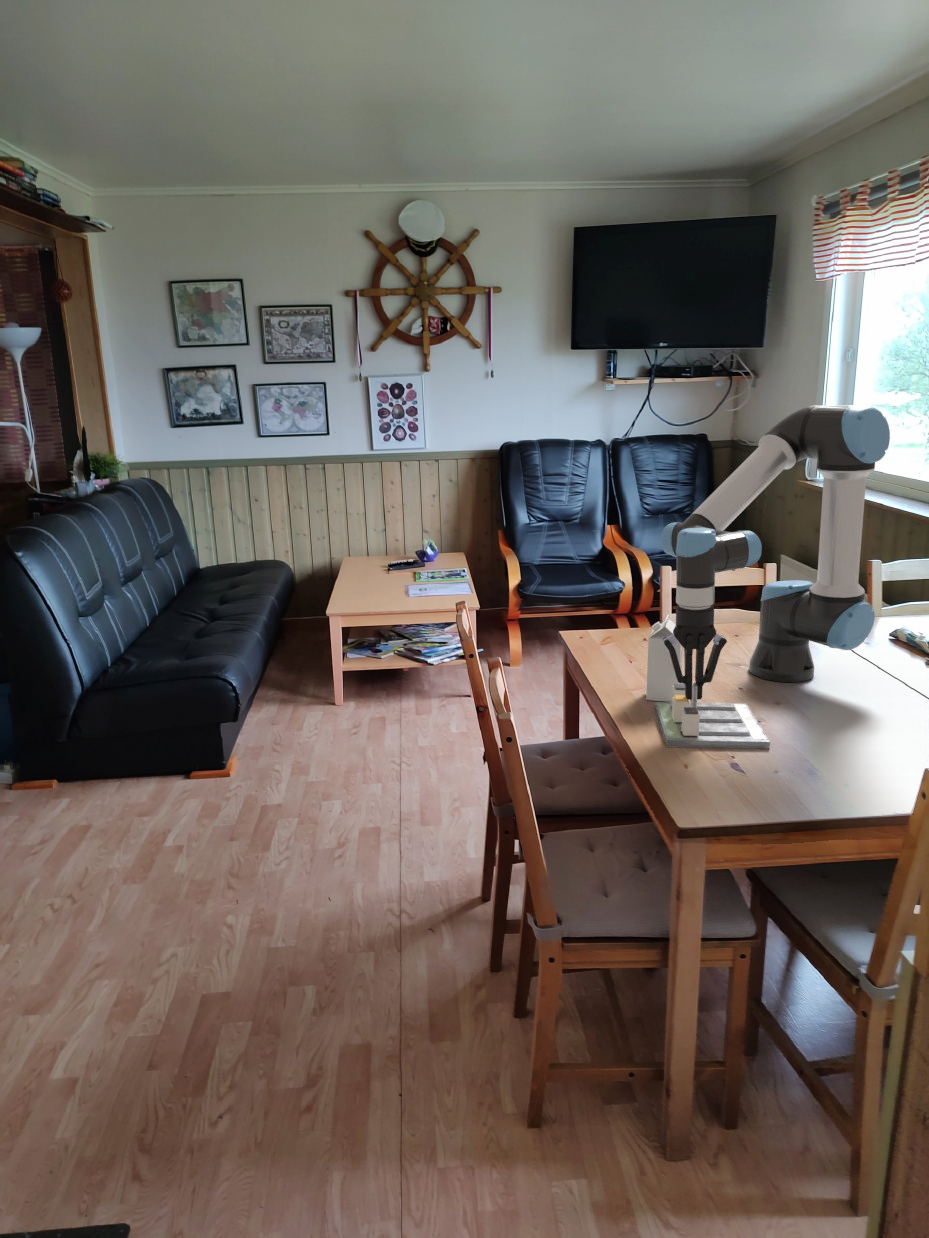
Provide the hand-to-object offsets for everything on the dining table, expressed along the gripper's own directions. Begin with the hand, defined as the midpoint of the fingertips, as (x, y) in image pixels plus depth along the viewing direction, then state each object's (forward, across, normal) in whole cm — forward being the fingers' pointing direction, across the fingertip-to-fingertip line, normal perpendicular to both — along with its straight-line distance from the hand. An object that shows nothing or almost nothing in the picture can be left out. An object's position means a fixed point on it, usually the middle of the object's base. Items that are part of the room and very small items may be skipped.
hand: (693, 713), depth 179 cm
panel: (+3, -3, 0) cm, 5 cm away
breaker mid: (+1, +3, 0) cm, 3 cm away
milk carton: (+3, +4, -18) cm, 19 cm away
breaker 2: (+1, +2, +7) cm, 7 cm away
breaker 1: (+1, +2, -7) cm, 7 cm away
